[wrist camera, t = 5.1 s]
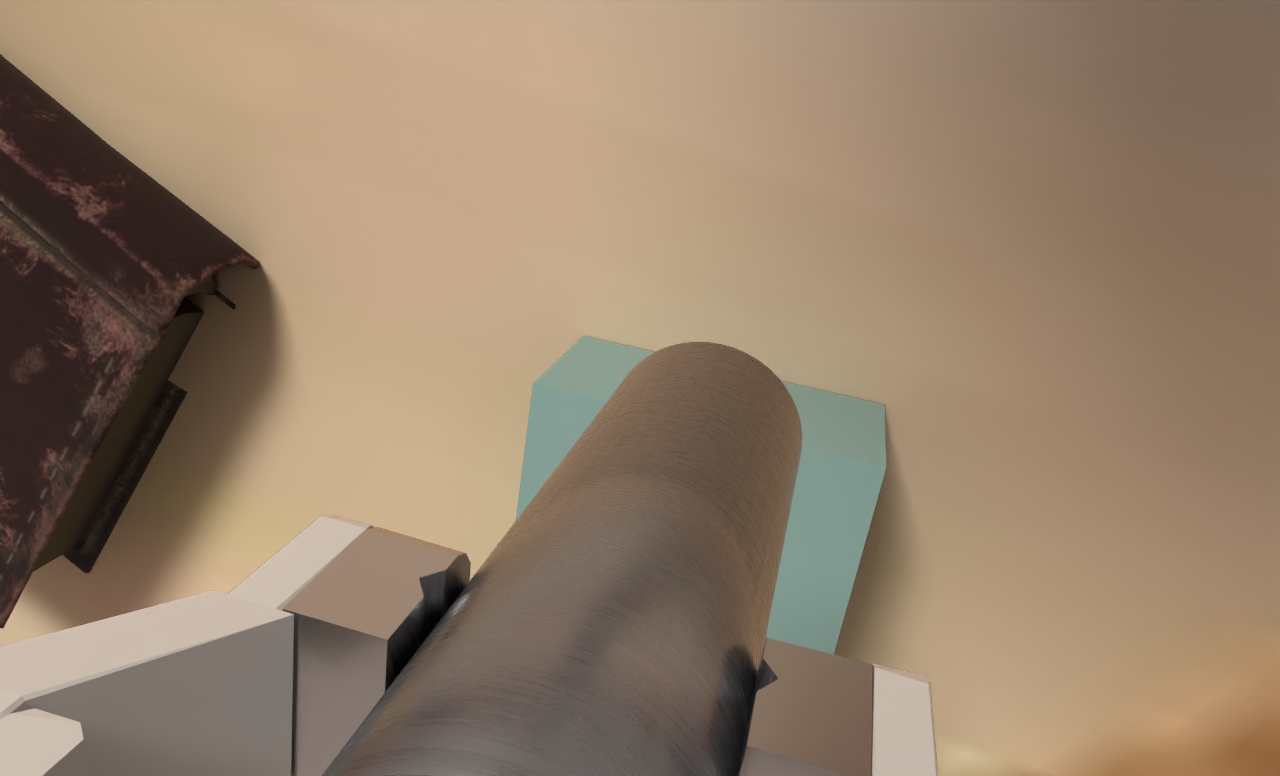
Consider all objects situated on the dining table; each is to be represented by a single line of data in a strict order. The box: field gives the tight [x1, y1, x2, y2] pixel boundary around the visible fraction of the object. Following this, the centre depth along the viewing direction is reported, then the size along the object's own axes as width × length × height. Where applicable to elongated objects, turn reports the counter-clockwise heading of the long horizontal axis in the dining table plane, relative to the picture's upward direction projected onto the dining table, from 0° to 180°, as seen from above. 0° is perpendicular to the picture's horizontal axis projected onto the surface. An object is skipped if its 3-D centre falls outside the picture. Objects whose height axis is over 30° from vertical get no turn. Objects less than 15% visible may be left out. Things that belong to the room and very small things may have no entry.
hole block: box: [516, 336, 886, 654], centre depth 31 cm, size 14×10×5 cm
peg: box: [322, 342, 802, 776], centre depth 9 cm, size 3×3×12 cm
